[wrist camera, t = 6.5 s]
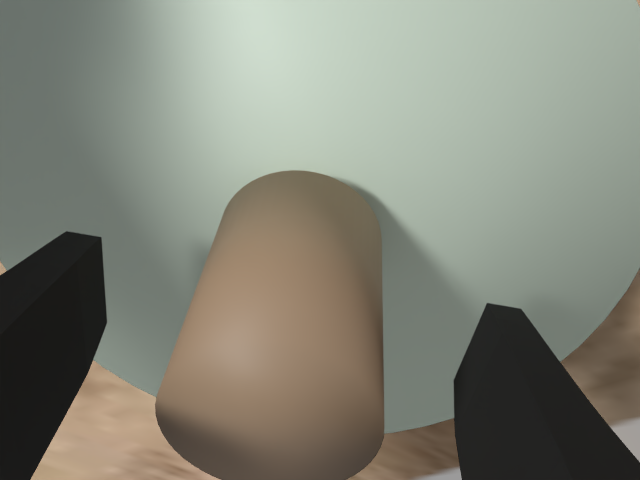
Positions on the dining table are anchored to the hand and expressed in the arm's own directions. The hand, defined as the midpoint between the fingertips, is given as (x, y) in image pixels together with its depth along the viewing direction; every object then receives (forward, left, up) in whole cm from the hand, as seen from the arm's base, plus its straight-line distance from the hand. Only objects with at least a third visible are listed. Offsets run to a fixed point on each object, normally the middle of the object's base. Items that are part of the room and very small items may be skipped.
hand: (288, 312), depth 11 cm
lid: (0, 0, -3) cm, 3 cm away
